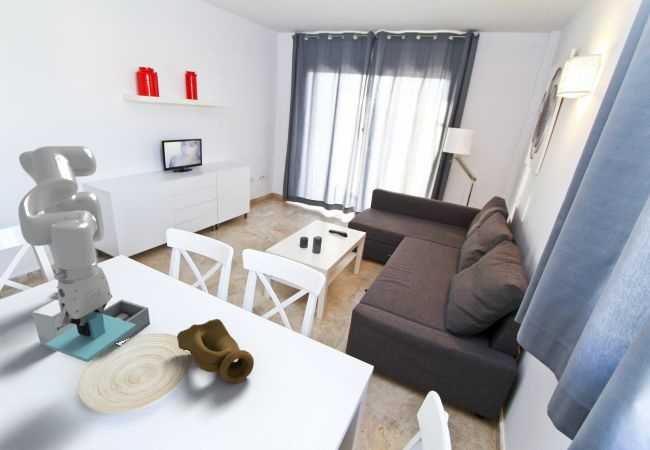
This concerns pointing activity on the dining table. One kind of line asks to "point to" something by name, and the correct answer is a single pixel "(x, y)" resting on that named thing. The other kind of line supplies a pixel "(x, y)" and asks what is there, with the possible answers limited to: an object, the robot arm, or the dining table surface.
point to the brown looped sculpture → (216, 350)
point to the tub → (129, 316)
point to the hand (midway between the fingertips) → (91, 329)
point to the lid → (91, 337)
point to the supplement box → (49, 322)
